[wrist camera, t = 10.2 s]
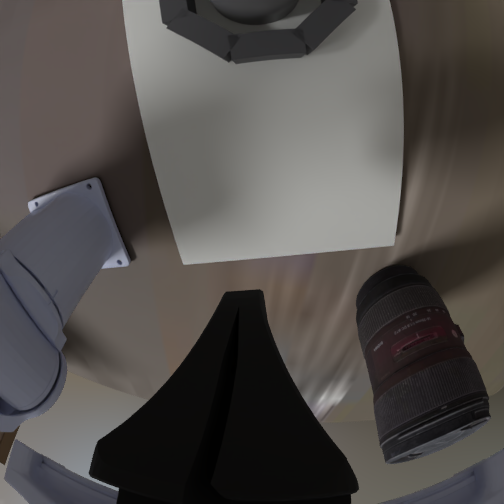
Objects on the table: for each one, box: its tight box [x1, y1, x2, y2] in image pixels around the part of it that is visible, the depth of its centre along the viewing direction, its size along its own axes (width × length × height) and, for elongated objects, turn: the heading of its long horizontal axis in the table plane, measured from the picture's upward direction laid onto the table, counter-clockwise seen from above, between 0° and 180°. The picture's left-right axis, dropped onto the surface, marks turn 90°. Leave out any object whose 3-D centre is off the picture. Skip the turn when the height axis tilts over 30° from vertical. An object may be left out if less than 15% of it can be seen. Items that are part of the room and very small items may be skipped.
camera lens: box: [356, 265, 491, 464], centre depth 16 cm, size 8×8×15 cm
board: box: [122, 0, 404, 265], centre depth 12 cm, size 16×24×3 cm, turn 8°
